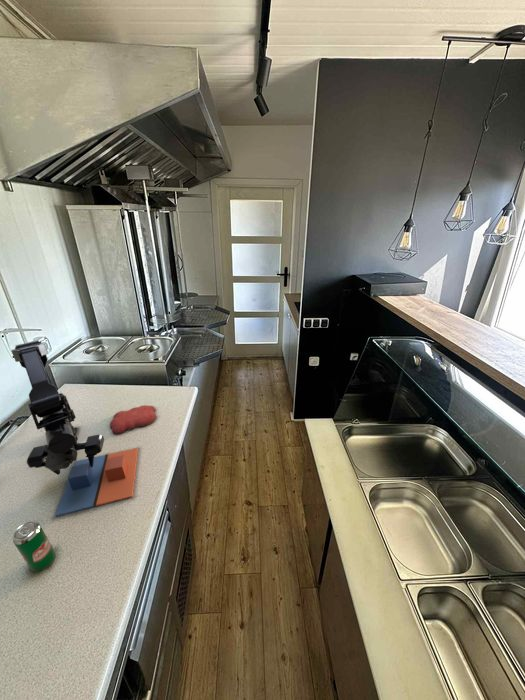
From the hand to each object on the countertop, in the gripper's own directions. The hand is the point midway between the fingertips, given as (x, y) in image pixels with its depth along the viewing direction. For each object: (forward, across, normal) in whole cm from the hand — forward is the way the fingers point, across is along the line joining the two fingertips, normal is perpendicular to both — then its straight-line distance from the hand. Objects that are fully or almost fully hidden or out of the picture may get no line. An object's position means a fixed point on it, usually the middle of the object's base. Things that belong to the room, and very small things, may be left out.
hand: (76, 469), depth 89 cm
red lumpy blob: (+5, +14, +26) cm, 30 cm away
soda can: (+4, -2, -24) cm, 24 cm away
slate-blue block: (+4, +2, -2) cm, 5 cm away
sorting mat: (+4, +6, -2) cm, 8 cm away
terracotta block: (+4, +12, -2) cm, 12 cm away
